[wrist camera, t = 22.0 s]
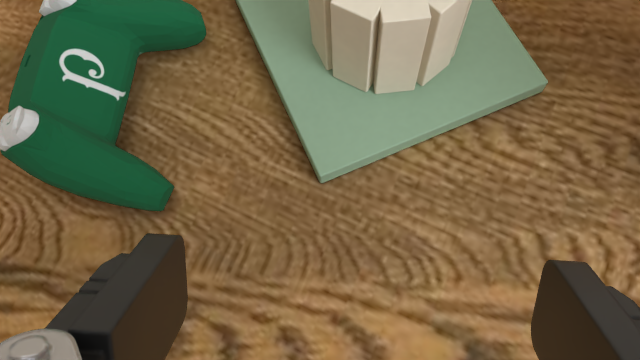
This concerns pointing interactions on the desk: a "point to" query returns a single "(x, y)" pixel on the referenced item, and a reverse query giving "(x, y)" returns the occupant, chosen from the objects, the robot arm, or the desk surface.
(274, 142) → the desk surface
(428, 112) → the mat
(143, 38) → the gaming controller
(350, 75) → the ring
